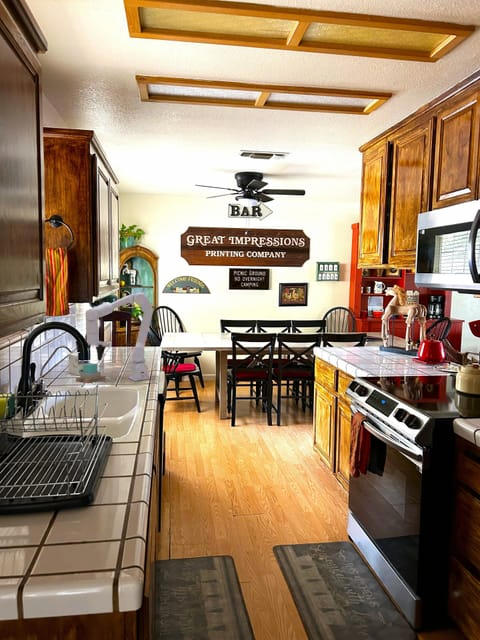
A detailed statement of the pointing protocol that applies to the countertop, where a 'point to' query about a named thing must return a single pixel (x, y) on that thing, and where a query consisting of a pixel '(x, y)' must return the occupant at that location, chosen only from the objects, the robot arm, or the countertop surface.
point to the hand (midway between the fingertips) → (93, 359)
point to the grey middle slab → (90, 375)
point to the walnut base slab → (90, 379)
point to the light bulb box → (75, 364)
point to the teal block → (90, 368)
